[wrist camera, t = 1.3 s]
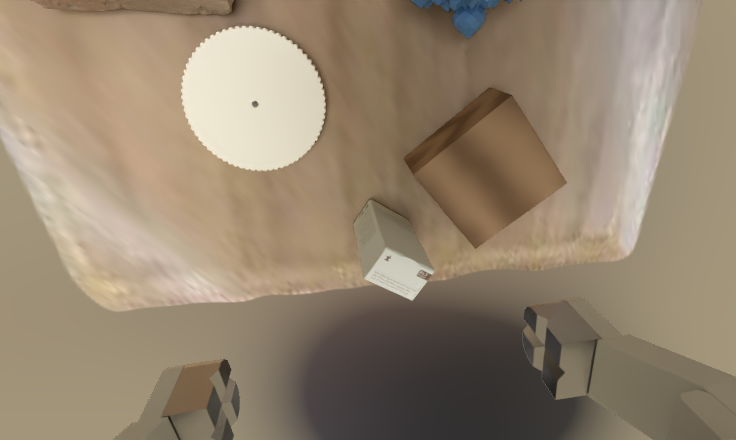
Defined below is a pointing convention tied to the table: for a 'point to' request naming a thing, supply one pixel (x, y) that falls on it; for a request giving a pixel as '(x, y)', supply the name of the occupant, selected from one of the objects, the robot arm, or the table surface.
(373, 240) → the skincare box
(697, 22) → the table surface
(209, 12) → the brick
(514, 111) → the walnut block
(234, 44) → the plastic lid
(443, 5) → the grapes
